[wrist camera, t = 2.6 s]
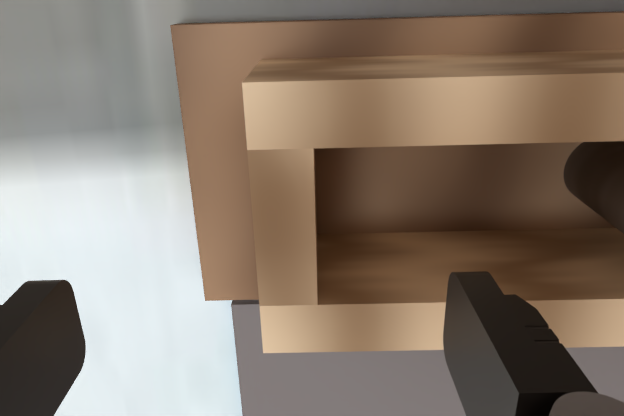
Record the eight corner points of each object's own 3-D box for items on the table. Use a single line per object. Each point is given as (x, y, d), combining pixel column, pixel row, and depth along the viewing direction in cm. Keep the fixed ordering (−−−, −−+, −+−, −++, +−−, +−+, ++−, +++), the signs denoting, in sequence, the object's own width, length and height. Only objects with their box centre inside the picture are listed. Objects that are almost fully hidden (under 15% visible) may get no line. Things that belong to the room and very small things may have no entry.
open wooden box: (784, 45, 17) (953, 64, 13) (713, 265, 21) (827, 342, 16) (260, 59, 18) (241, 82, 13) (274, 274, 21) (263, 353, 16)
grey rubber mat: (732, 287, 22) (743, 294, 22) (675, 454, 26) (683, 463, 26) (233, 297, 23) (231, 304, 22) (249, 460, 27) (248, 470, 26)
